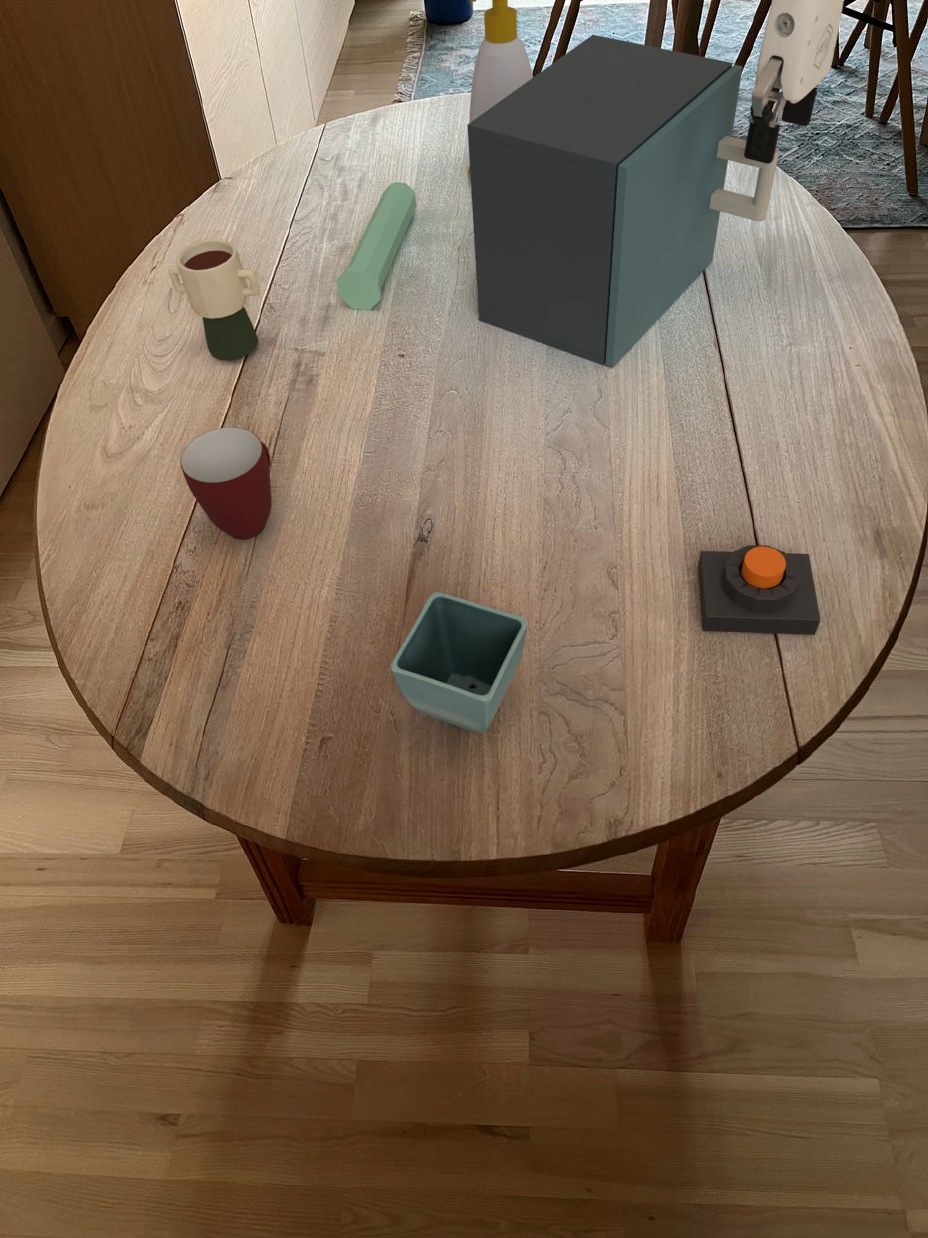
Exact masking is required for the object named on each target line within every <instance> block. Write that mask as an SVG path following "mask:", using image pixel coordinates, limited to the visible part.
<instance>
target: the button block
mask: <svg viewBox="0 0 928 1238" xmlns="http://www.w3.org/2000/svg"><path fill="white" fill-rule="evenodd" d="M755 547H770V548H773V549H775V550H777V551H779V552H780V553H781V554H782V555H783V556H784V558H785V561H786V567H785V570H784V573H783V576H782V580H781V581H780V583H779V584H778V585H776V586H774V587H772V588H767V589H761V588H756V587H754V586H752V585H750V584H748V583H747V582H746V581H745V580H744V578H743V576H742V573H741V570H742V566H743V562H744V558H745V555H746V553H747V552H748V551H749V550H751V549H753V548H755ZM697 572H698V574H697V575H698V585H699V586H698V587H699V597H700V598H699V599H700V612H701V623H702V631H703V632H724V633H750V634H751V633H753V634H776V635H777V634H780V635H781V634H782V635H807V636H808V635H809V636H810V635H811V636H815V635H816V633H817V630H818V628H819V625H820V622H821V615H820V614H821V613H820V608H819V603H818V597H817V592H816V587H815V580H814V574H813V569H812V564H811V558H810V554H809V553H799V552H798V553H796V552H795V553H793V552H785V551H782V550H780V549H778V548H775V547H772V546H771V545H764V544H763V545H761V544H760V545H758V544H749V545H746V546H743V547H741V548H739V549H736V550H733V551H718V550H717V551H715V550H700V553H699V558H698V563H697Z"/></svg>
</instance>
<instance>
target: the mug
mask: <svg viewBox="0 0 928 1238" xmlns="http://www.w3.org/2000/svg"><path fill="white" fill-rule="evenodd" d="M179 460H180V461H179V465H180V469H181V472H182V473H183V477H184V479H185V482H186V484H187V486H188V488H189V491H190V493H191V494H192V496H193V497H194V498H195V500H196V501H197V503H198V504H199V506H200V507H201V509H202V510H203V511H204V513H205V515H206V516H207V517H208V519H209V520H210V522H211V523H212V524H213V525H214V526H215V527H216V528H217V529H219V530H220V531H222V532H223V533H225V534H227V535H228V536H230V537H231V538H234V539H236V540H243V541H244V540H250V539H253V538H255V537H257V536H258V535H260V534H261V533H262V532H263V531H264V529H265V528H266V525H267V523H268V521H269V517H270V514H271V511H272V502H273V501H272V487H271V476H270V475H271V474H270V473H271V472H270V469H271V454H270V451H269V448H268V446H267V445H266V443H264V442H263V441H262V440H261V439H260V437H259V436H257V434H256V433H254V432H252V431H250V430H248V429H245V428H241V427H230V426H228V427H220V428H215V429H211V430H209V431H206V432H204V433H201V434H200V435H198V436H197V437H195V438H194V439H192V440H191V441H190V442H189V443H188V444H187V445H186V446H185V448H184V449H183V451H182V452H181V455H180V459H179Z"/></svg>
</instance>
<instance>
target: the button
mask: <svg viewBox="0 0 928 1238" xmlns="http://www.w3.org/2000/svg"><path fill="white" fill-rule="evenodd" d="M773 548H774V547H773ZM773 548H770V547H755V548H753V549H751V550H749V551H748V552H747V553H746V555H745V558H744V562H743V566H742V570H741V573H742V576H743V578H744V580H745V581H746V582H747V583H748V584H750V585H752V586H754V587H756V588H761V589H767V588H772V587H774V586H776V585H778V584H779V583H780V581H781V580H782V576H783V573H784V570H785V567H786V561H785V558H784V556H783V555H782V554H781V553H780V552H779V551H777V550H775V549H776V548H775V549H773Z"/></svg>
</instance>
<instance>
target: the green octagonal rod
mask: <svg viewBox="0 0 928 1238" xmlns="http://www.w3.org/2000/svg"><path fill="white" fill-rule="evenodd" d="M416 208H417V199H416V192H415V190H414V189H412V188H411V187H410V186H409V184H408V183H406V182H391V183H390V184H389V185H388V187H386V189H385V190H384V191H383V193H382V194H381V196H380V198H379V201H378V203H377V205H376V207H375V209H374V210H373V213H372V215H371V218H370V219H369V220H368V224H367V226H366V228H365V229H364V232H363V234H362V236H361V238H360V240H359V242H358V244H357V246H356V249H355V251H354V253H353V255H352V257H351V259H350V261H349V263H348V265H347V267H346V269H345V270H344V271H343V272H342V273H341V275H339V276H338V277H337V278H336V281H335V282H336V288H337V292H338V298H339V299H340V300H341V301H343V302H344V304H346V305H348V307H350V308H351V309H352V310H359V311H371V310H372V309H373V308H374V307H375V306H376V305H377V304H378V303H379V302H380V301H381V300H382V297H383V292H382V288H383V285H384V283H385V281H386V279H387V276H388V274H389V272H390V269H391V266H393V265H392V264H393V262H394V260H395V258H396V255H397V253H398V250H399V248H400V246H401V243H402V241H403V239H404V236H405V234H406V232H407V230H408V228H409V224H410V222H411V220H412V218H413V215H414V213H415V211H416Z"/></svg>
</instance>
